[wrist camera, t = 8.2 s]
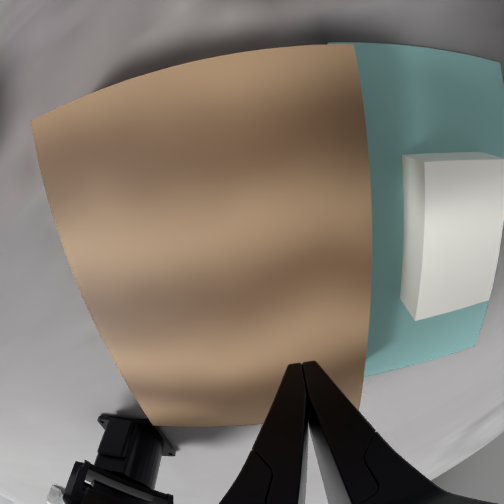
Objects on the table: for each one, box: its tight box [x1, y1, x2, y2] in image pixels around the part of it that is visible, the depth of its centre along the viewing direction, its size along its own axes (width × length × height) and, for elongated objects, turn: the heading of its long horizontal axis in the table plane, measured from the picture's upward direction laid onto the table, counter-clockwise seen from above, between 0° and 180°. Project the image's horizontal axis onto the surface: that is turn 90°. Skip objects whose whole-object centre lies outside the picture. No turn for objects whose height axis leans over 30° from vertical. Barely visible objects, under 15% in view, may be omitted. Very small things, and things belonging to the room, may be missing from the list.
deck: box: [31, 44, 372, 427], centre depth 16 cm, size 20×14×4 cm
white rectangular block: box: [400, 152, 504, 321], centre depth 15 cm, size 9×6×2 cm, turn 10°
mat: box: [327, 42, 504, 377], centre depth 16 cm, size 22×12×1 cm, turn 9°
